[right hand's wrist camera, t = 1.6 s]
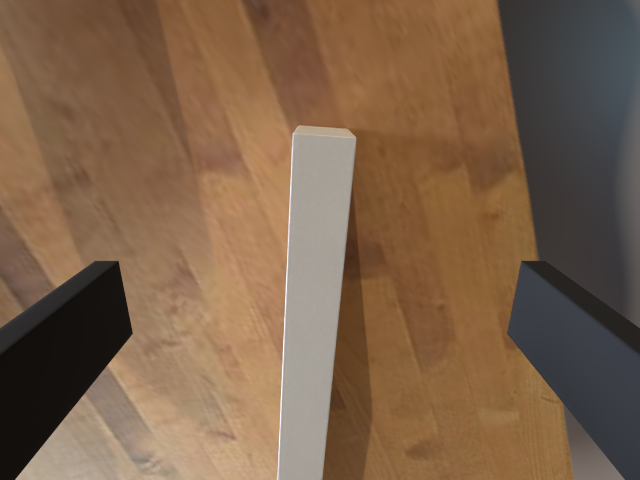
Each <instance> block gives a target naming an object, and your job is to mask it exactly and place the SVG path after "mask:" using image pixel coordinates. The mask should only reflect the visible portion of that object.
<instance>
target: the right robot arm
mask: <svg viewBox="0 0 640 480" xmlns="http://www.w3.org/2000/svg"><path fill="white" fill-rule="evenodd" d="M132 334H133V332H132V327H131V322H130V317H129V312H128V307H127V302H126V297H125V292H124V287H123V281H122V276H121V271H120V266H119V261H94V262H93V263H92V264H90V265H89V266H87V267H86V268H85V269H83V270H82V271H80V272H79V273H78V274H76V275H75V276H73V277H72V278H70V279H69V280H68V281H66V282H65V283H63V284H62V285H61V286H59V287H58V288H56V289H55V290H54V291H52V292H51V293H49V294H48V295H47V296H45V297H44V298H42V299H41V300H40V301H38V302H37V303H35V304H34V305H32V306H31V307H30V308H28V309H27V310H25V311H24V312H23V313H21V314H20V315H18V316H17V317H16V318H14V319H13V320H11V321H10V322H9V323H7V324H6V325H4V326H3V327H2V328H0V480H15V479H16V478H17V476H18V475H19V474H20V473H21V472H22V470H23V469H24V468H25V467H26V465H27V464H28V463H29V462H30V460H31V459H32V458H33V457H34V455H35V454H36V453H37V452H38V450H39V449H40V448H41V447H42V445H43V444H44V443H45V442H46V440H47V439H48V438H49V437H50V436H51V434H52V433H53V432H54V431H55V429H56V428H57V427H58V426H59V424H60V423H61V422H62V421H63V419H64V418H65V417H66V416H67V414H68V413H69V412H70V411H71V409H72V408H73V407H74V406H75V405H76V403H77V402H78V401H79V400H80V398H81V397H82V396H83V395H84V393H85V392H86V391H87V390H88V388H89V387H90V386H91V385H92V383H93V382H94V381H95V380H96V378H97V377H98V376H99V375H100V374H101V372H102V371H103V370H104V369H105V367H106V366H107V365H108V364H109V362H110V361H111V360H112V359H113V357H114V356H115V355H116V354H117V352H118V351H119V350H120V349H121V347H122V346H123V345H124V344H125V343H126V341H127V340H128V339H129V338H130V336H131V335H132ZM507 334H508V335H509V336H510V338H511V339H512V340H513V341H514V343H515V344H516V345H517V346H518V347H519V349H520V350H521V351H522V352H523V354H524V355H525V356H526V357H527V359H528V360H529V361H530V362H531V364H532V365H533V366H534V367H535V369H536V370H537V371H538V372H539V374H540V375H541V376H542V377H543V378H544V380H545V381H546V382H547V383H548V385H549V386H550V387H551V388H552V390H553V391H554V392H555V393H556V395H557V396H558V397H559V398H560V400H561V401H562V402H563V403H564V405H565V406H566V407H567V408H568V409H569V411H570V412H571V413H572V414H573V416H574V417H575V418H576V419H577V421H578V422H579V423H580V424H581V426H582V427H583V428H584V429H585V431H586V432H587V433H588V434H589V435H590V437H591V438H592V439H593V440H594V442H595V443H596V444H597V445H598V447H599V448H600V449H601V450H602V452H603V453H604V454H605V455H606V457H607V458H608V459H609V460H610V462H611V463H612V464H613V465H614V466H615V468H616V469H617V470H618V471H619V473H620V474H621V475H622V476H623V478H624V479H625V480H640V328H638V327H637V326H636V325H634V324H633V323H631V322H630V321H629V320H627V319H626V318H624V317H623V316H622V315H620V314H619V313H617V312H616V311H615V310H613V309H612V308H610V307H609V306H607V305H606V304H605V303H603V302H602V301H600V300H599V299H598V298H596V297H595V296H593V295H592V294H591V293H589V292H588V291H586V290H585V289H584V288H582V287H581V286H579V285H578V284H577V283H575V282H574V281H572V280H571V279H570V278H568V277H567V276H565V275H564V274H562V273H561V272H560V271H558V270H557V269H555V268H554V267H553V266H551V265H550V264H548V263H547V262H546V261H521V266H520V271H519V276H518V281H517V287H516V292H515V297H514V302H513V307H512V312H511V317H510V322H509V327H508V332H507Z"/></svg>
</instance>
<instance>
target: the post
mask: <svg viewBox="0 0 640 480" xmlns="http://www.w3.org/2000/svg"><path fill="white" fill-rule="evenodd" d="M356 142H357V138H356V137H355V136H354V135H353V134H352V133H351V132H350V131H349V130H348V129H343V128H329V127H315V126H302V125H299V126H298V127H297V129H296V130H295V132H294V133H293V142H292V164H291V187H290V210H289V232H288V255H287V278H286V301H285V323H284V346H283V369H282V391H281V414H280V437H279V459H278V480H323V470H324V460H325V450H326V440H327V430H328V420H329V410H330V400H331V390H332V380H333V370H334V360H335V350H336V341H337V331H338V321H339V311H340V301H341V291H342V281H343V271H344V261H345V251H346V241H347V231H348V221H349V211H350V201H351V191H352V182H353V172H354V162H355V152H356Z"/></svg>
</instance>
